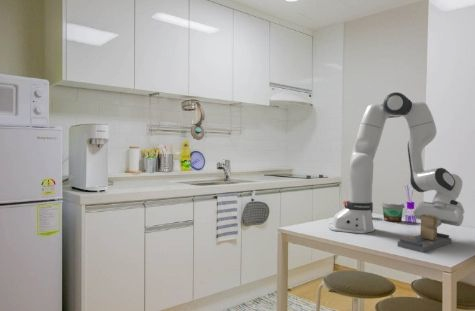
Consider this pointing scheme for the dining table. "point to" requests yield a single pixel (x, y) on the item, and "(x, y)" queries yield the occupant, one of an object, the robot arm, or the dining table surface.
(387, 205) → the food container
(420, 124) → the robot arm
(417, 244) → the fader track
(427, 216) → the fader knob
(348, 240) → the dining table surface
